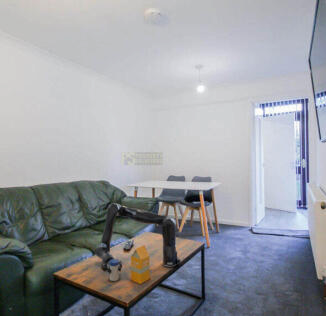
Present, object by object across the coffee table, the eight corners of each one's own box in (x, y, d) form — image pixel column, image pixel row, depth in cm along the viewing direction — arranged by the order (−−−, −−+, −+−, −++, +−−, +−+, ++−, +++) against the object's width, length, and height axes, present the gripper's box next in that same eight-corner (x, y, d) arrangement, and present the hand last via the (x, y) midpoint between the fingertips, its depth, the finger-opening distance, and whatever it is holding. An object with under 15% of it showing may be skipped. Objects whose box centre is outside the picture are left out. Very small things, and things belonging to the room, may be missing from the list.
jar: (117, 276, 155) (117, 259, 155) (119, 280, 150) (119, 262, 150) (108, 277, 153) (108, 260, 153) (110, 281, 148) (110, 264, 148)
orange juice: (131, 280, 150) (130, 247, 151) (140, 275, 157) (139, 243, 158) (140, 284, 146) (140, 250, 146) (149, 278, 152) (149, 246, 153)
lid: (117, 261, 155) (117, 258, 155) (119, 265, 150) (119, 262, 150) (108, 263, 153) (108, 259, 153) (110, 266, 148) (110, 263, 148)
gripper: (97, 256, 162) (103, 266, 146) (118, 253, 167) (126, 262, 152) (97, 267, 162) (103, 279, 146) (118, 264, 167) (126, 275, 152)
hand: (115, 271), depth 149 cm, fingers closed on jar, 5 cm apart
